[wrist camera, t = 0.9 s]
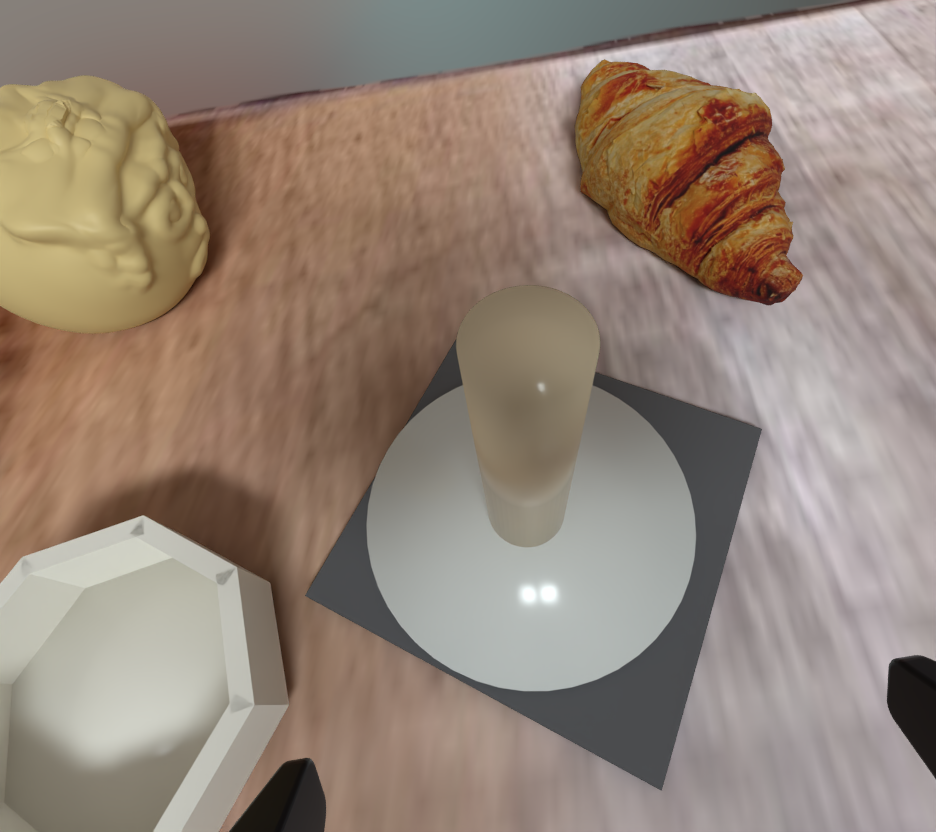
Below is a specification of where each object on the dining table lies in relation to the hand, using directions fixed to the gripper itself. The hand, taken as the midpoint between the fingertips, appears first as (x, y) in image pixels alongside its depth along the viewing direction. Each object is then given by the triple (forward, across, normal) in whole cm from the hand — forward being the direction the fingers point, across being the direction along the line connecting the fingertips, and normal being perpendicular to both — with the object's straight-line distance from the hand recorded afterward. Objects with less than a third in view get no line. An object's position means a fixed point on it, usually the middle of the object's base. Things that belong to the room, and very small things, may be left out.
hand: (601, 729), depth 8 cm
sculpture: (+28, +20, -9) cm, 35 cm away
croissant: (+28, -13, -9) cm, 32 cm away
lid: (+15, 0, +4) cm, 15 cm away
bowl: (+12, +16, +7) cm, 21 cm away
